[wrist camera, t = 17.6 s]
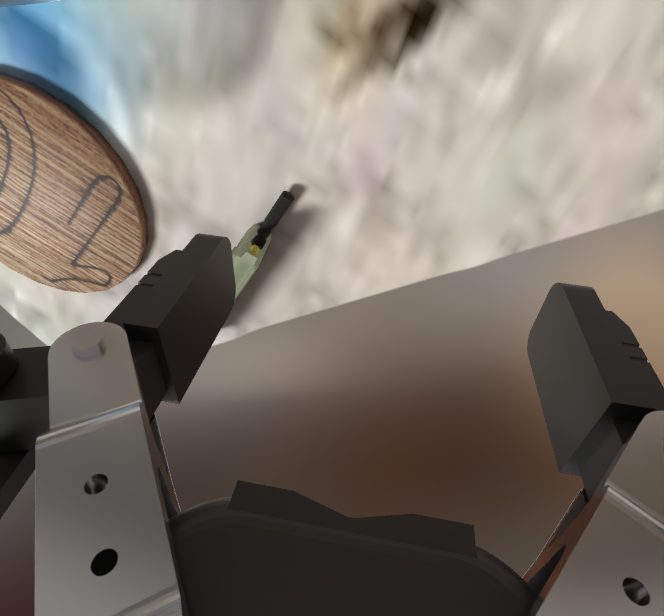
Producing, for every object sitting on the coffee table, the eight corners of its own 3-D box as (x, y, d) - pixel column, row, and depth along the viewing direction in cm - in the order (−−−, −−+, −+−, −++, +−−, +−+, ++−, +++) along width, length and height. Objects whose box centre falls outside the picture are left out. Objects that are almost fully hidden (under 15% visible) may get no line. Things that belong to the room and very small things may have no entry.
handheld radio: (187, 319, 57) (276, 178, 42) (209, 331, 58) (304, 197, 43) (166, 356, 52) (259, 210, 37) (190, 368, 53) (291, 231, 38)
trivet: (184, 186, 44) (175, 194, 43) (111, 314, 59) (103, 323, 57) (-66, 3, 37) (-86, 5, 36) (-79, 200, 52) (-93, 207, 50)
